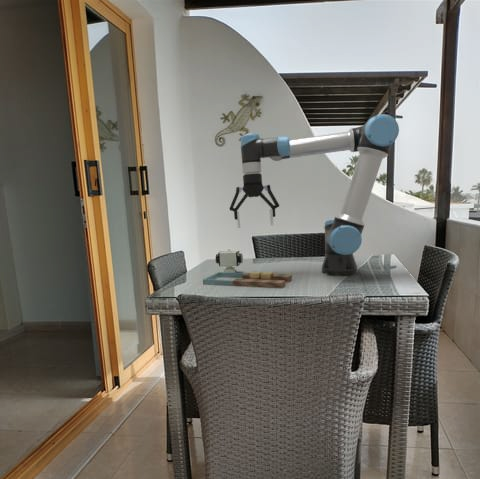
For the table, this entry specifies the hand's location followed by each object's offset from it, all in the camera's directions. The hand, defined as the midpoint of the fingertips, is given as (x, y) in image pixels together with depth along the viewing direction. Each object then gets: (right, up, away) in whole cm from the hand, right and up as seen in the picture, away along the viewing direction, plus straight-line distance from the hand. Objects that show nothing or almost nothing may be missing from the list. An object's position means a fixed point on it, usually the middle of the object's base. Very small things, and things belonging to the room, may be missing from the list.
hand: (255, 226), depth 145 cm
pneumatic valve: (-11, -22, +17) cm, 30 cm away
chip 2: (+4, -22, -5) cm, 24 cm away
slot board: (+3, -23, -4) cm, 24 cm away
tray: (-13, -24, +2) cm, 27 cm away
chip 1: (0, -22, -3) cm, 23 cm away
